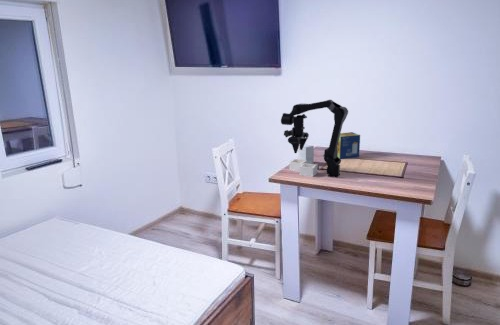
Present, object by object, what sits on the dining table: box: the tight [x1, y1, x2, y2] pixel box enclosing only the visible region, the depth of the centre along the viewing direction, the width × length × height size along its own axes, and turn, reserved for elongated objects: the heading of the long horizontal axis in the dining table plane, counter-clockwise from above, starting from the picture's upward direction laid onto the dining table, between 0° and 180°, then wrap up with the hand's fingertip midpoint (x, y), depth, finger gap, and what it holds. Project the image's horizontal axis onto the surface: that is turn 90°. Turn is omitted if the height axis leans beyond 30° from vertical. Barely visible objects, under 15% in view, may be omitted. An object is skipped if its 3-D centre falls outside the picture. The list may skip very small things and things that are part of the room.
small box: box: [297, 143, 315, 164], centre depth 234 cm, size 8×6×13 cm
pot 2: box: [298, 163, 318, 178], centre depth 214 cm, size 8×8×6 cm
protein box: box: [337, 131, 361, 160], centre depth 253 cm, size 10×15×16 cm
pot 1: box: [289, 158, 307, 172], centre depth 224 cm, size 8×8×6 cm
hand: (298, 151), depth 222 cm, fingers open, 9 cm apart
